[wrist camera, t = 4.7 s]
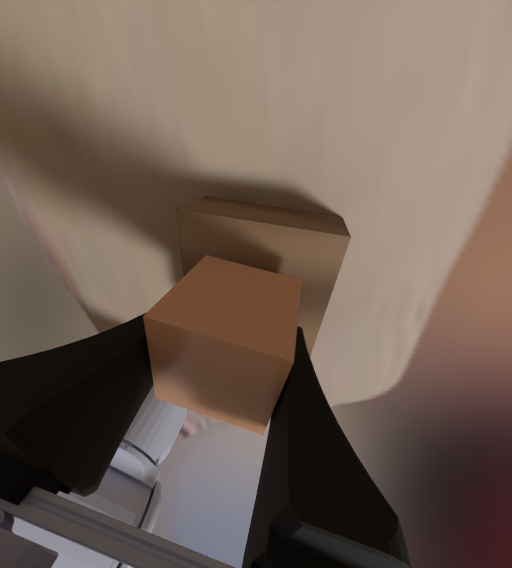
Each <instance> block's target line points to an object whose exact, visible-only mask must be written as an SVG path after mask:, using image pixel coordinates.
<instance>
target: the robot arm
mask: <svg viewBox="0 0 512 568" xmlns="http://www.w3.org/2000/svg"><path fill="white" fill-rule="evenodd" d="M145 314H146V313H145ZM145 314H143V315H141V316H138V317H136V318H134V319H132V320H130V321H128V322H126V323H124V324H121V325H119V326H117V327H114V328H112V329H110V330H107V331H105V332H102V333H99V334H97V335H94V336H91V337H88V338H86V339H82V340H79V341H76V342H73V343H70V344H67V345H64V346H61V347H57V348H54V349H51V350H47V351H43V352H39V353H36V354H32V355H28V356H24V357H20V358H15V359H12V360H6V361H2V362H0V568H235V567H232V566H230V565H227V564H225V563H222V562H220V561H217V560H215V559H213V558H210V557H208V556H205V555H203V554H200V553H198V552H195V551H193V550H190V549H188V548H186V547H183V546H181V545H178V544H176V543H173V542H171V541H168V540H166V539H163V538H161V537H159V536H156V535H154V534H151V532H152V530H153V527H154V525H155V522H156V519H157V516H158V512H159V509H160V504H161V484H160V483H159V482H158V481H157V478H158V476H159V474H160V472H161V469H160V468H159V467H157V466H158V464H159V463H161V462H162V461H163V460H164V458H165V457H166V456H167V455H168V453H169V452H170V450H171V448H172V446H173V444H174V442H175V440H176V438H177V436H178V433H179V431H180V429H181V427H182V425H183V423H184V421H185V419H186V417H187V415H188V413H189V411H190V410H189V409H186V408H183V407H180V406H177V405H174V404H171V403H168V402H165V401H162V400H159V399H156V396H155V390H154V383H153V377H152V370H151V364H150V357H149V351H148V345H147V338H146V332H145V325H144V319H143V316H144V315H145ZM242 568H412V566H411V562H410V557H409V553H408V549H407V546H406V541H405V538H404V535H403V532H402V528H401V525H400V522H399V519H398V516H397V515H396V514H395V512H394V511H393V509H392V508H391V506H390V505H389V504H388V502H387V501H386V499H385V498H384V496H383V495H382V494H381V492H380V491H379V489H378V488H377V486H376V485H375V483H374V482H373V480H372V479H371V478H370V476H369V474H368V473H367V471H366V469H365V468H364V466H363V465H362V463H361V462H360V460H359V458H358V457H357V455H356V453H355V452H354V450H353V448H352V446H351V445H350V443H349V441H348V440H347V438H346V436H345V435H344V433H343V431H342V429H341V428H340V426H339V424H338V422H337V420H336V418H335V416H334V414H333V412H332V410H331V408H330V406H329V404H328V402H327V400H326V398H325V395H324V393H323V391H322V388H321V386H320V384H319V381H318V379H317V376H316V373H315V371H314V368H313V365H312V362H311V359H310V356H309V353H308V349H307V346H306V342H305V338H304V333H303V329H302V327H299V326H297V334H296V344H295V355H294V363H293V365H292V368H291V370H290V372H289V375H288V377H287V379H286V382H285V384H284V386H283V389H282V391H281V393H280V396H279V398H278V401H277V403H276V405H275V408H274V410H273V412H272V415H271V420H270V427H269V433H268V438H267V444H266V449H265V454H264V459H263V465H262V470H261V475H260V480H259V485H258V490H257V495H256V500H255V505H254V510H253V515H252V519H251V524H250V529H249V534H248V539H247V544H246V548H245V553H244V558H243V564H242Z"/></svg>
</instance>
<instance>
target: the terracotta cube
mask: <svg viewBox="0 0 512 568" xmlns="http://www.w3.org/2000/svg"><path fill="white" fill-rule="evenodd" d="M301 283H302V280H299V279H295V278H292V277H288V276H284V275H280V274H277V273H273V272H269V271H265V270H262V269H258V268H254V267H250V266H247V265H243V264H239V263H235V262H232V261H228V260H224V259H220V258H217V257H213V256H209V255H206V256H205V257H204V258H203V259H202V260H201V261H200V262H199V263H198V264H197V265H196V266H195V267H193V268H192V269H191V270H190V271H189V272H188V273H187V274H186V275H185V276H184V277H183V278H182V279H181V280H180V281H179V282H178V283H177V284H176V285H175V286H174V287H173V288H172V289H171V290H170V291H169V292H168V293H167V294H166V295H165V296H164V297H163V298H162V299H160V300H159V301H158V302H157V303H156V304H155V305H154V306H153V307H152V308H151V309H150V310H149V311H148V312H147V313H146V314H145V315H144V316H143V319H144V325H145V332H146V338H147V345H148V351H149V357H150V364H151V370H152V377H153V383H154V390H155V396H156V399H159V400H162V401H165V402H168V403H171V404H174V405H177V406H180V407H183V408H186V409H189V410H191V411H194V412H197V413H200V414H203V415H206V416H209V417H212V418H215V419H218V420H221V421H224V422H227V423H230V424H232V425H236V426H238V427H241V428H244V429H247V430H250V431H253V432H256V433H259V434H262V435H263V433H264V431H265V429H266V426H267V424H268V422H269V419H270V417H271V415H272V412H273V410H274V408H275V405H276V403H277V401H278V398H279V396H280V393H281V391H282V389H283V386H284V384H285V382H286V379H287V377H288V375H289V372H290V370H291V368H292V365H293V363H294V355H295V344H296V334H297V324H298V314H299V303H300V293H301Z"/></svg>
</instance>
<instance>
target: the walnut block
mask: <svg viewBox="0 0 512 568" xmlns="http://www.w3.org/2000/svg"><path fill="white" fill-rule="evenodd" d="M177 215H178V225H179V235H180V245H181V255H182V265H183V275H184V276H185V275H186V274H187V273H188V272H189V271H190V270H191V269H192V268H193V267H195V266H196V265H197V264H198V263H199V262H200V261H201V260H202V259H203V258H204V257H205V256H206V255H209V256H213V257H217V258H220V259H224V260H228V261H232V262H235V263H239V264H243V265H247V266H250V267H254V268H258V269H262V270H265V271H269V272H273V273H277V274H280V275H284V276H288V277H292V278H295V279H299V280H302V283H301V293H300V303H299V314H298V324H297V326H299V327H302V329H303V333H304V338H305V342H306V346H307V349H308V353H309V356H310V355H311V352H312V349H313V346H314V343H315V340H316V337H317V334H318V331H319V328H320V326H321V323H322V320H323V317H324V314H325V311H326V308H327V305H328V302H329V299H330V296H331V293H332V290H333V288H334V285H335V282H336V279H337V276H338V273H339V270H340V267H341V264H342V261H343V258H344V255H345V253H346V250H347V247H348V244H349V241H350V238H351V236H350V234H349V232H348V229H347V227H346V225H345V222H344V220H343V218H342V217H337V216H330V215H324V214H317V213H310V212H304V211H297V210H290V209H284V208H277V207H270V206H264V205H257V204H250V203H244V202H237V201H230V200H224V199H217V198H210V197H204V198H201V199H199V200H197V201H194V202H192V203H190V204H187V205H185V206H183V207H180V208H178V209H177Z"/></svg>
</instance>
